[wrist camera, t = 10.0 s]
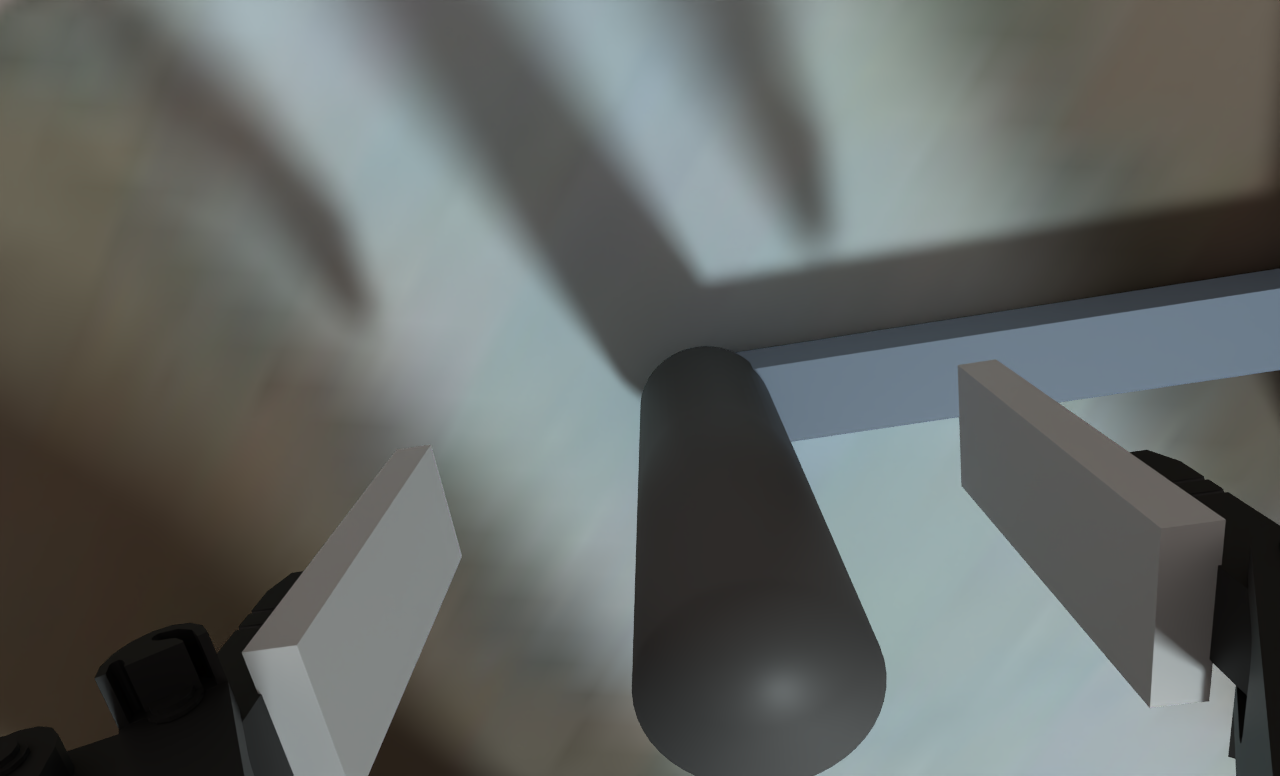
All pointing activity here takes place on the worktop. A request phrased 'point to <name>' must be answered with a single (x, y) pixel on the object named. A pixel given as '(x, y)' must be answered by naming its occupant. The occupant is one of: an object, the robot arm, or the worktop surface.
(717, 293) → the worktop surface
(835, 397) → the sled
